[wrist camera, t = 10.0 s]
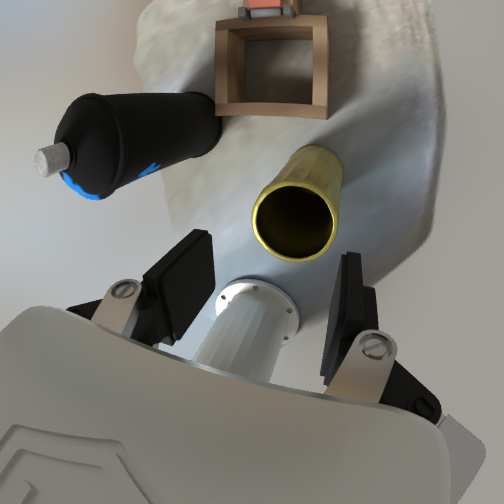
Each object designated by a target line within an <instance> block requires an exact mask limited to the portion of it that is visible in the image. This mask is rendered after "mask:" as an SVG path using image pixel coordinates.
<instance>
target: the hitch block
mask: <svg viewBox="0 0 504 504" xmlns="http://www.w3.org/2000/svg"><path fill="white" fill-rule="evenodd" d="M282 8H283V9H281V10H282V16H276V17H258V18H252V17H251V8H250V1H249V0H244V7H240V8H238V17H239V18H234V19H227V20H220V21H216V33H215V116H229V115H260V116H287V117H302V118H314V119H324V120H327V119H328V108H329V28H328V22H327V16H322V15H301V0H282ZM255 40H313V99H312V105H307V104H291V103H245V41H255Z"/></svg>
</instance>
